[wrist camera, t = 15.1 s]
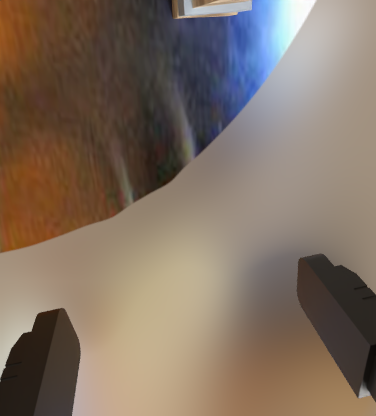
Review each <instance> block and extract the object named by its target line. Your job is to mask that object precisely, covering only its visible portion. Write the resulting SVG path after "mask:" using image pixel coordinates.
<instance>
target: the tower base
mask: <svg viewBox="0 0 376 416" xmlns="http://www.w3.org/2000/svg"><path fill="white" fill-rule="evenodd" d="M172 12H173V19H175V18H195V17H214V16H230V15H237V12H232V13H219V14H207V15H194V16H182V17H179V16H178V2H177V0H172Z"/></svg>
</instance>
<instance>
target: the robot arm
mask: <svg viewBox="0 0 376 416" xmlns="http://www.w3.org/2000/svg"><path fill="white" fill-rule="evenodd" d="M297 296H298V300H299V302H300V305H301V307H302V309H303V310H304V312H305V314H306V315H307V317H308V319H309V320H310V322H311V323H312V325H313V327H314V328H315V330H316V331H317V333H318V335H319V336H320V338H321V340H322V341H323V343H324V344H325V346H326V348H327V349H328V351H329V352H330V354H331V356H332V357H333V359H334V360H335V362H336V364H337V365H338V367H339V368H340V370H341V372H342V373H343V375H344V377H345V378H346V380H347V381H348V383H349V385H350V386H351V388H352V389H353V391H354V393H355V394H356V396H357V397H358V398H362V397H366V396H370V395H371V396H372V397H373V399H374V400H375V402H376V295H375V293H374V292H373V291H372V290H371V289H370V288H368V287H367V285H366V284H365V283H364V282H363V281H362V279H361V278H360V277H359V276H358V275H357V274H356V273H354V272H352V271H351V270H349V269H347V268H345V267H343V266H342V265H340V266H335V267H334V265H333V264H332V263H331V262H330V261H329V260H328V258H327V257H326V256H325V255H324V254H316V255H312V256H307V257H303V258H300V259H299V261H298V277H297ZM79 363H80V343H79V339H78V337H77V334H76V332H75V330H74V328H73V326H72V324H71V321H70V319H69V317H68V315H67V312H66V311H65V309H64V308H60V309H55V310H51V311H46V312H41V313H39V314H38V315H37V317H36V319H35V322H34V325H33V329H32V332H27V333H23V334H22V335H21V337H20V338H19V339H18V341H17V342H16V344H15V345H14V346H13V347H12V349H11V351H10V354H9V357H8V359H7V362H6V365H5V366H6V368H5V369H4V370H3V373H2V376H1V378H0V380H1V381H0V416H72V410H73V404H74V396H75V390H76V383H77V376H78V369H79Z"/></svg>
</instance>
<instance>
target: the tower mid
mask: <svg viewBox="0 0 376 416" xmlns="http://www.w3.org/2000/svg"><path fill="white" fill-rule="evenodd" d="M177 2H178V16H179V17H182V16H194V15H207V14H219V13H232V12H241V11H248V10H252V0H250V1H245V2H239V3H231V4H223V5H215V6H207V7H199V8H193V7H192V0H177Z"/></svg>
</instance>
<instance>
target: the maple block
mask: <svg viewBox="0 0 376 416" xmlns="http://www.w3.org/2000/svg"><path fill="white" fill-rule="evenodd" d="M245 1H250V0H192V7H193V8H199V7H207V6H215V5H223V4H231V3H239V2H245Z"/></svg>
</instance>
